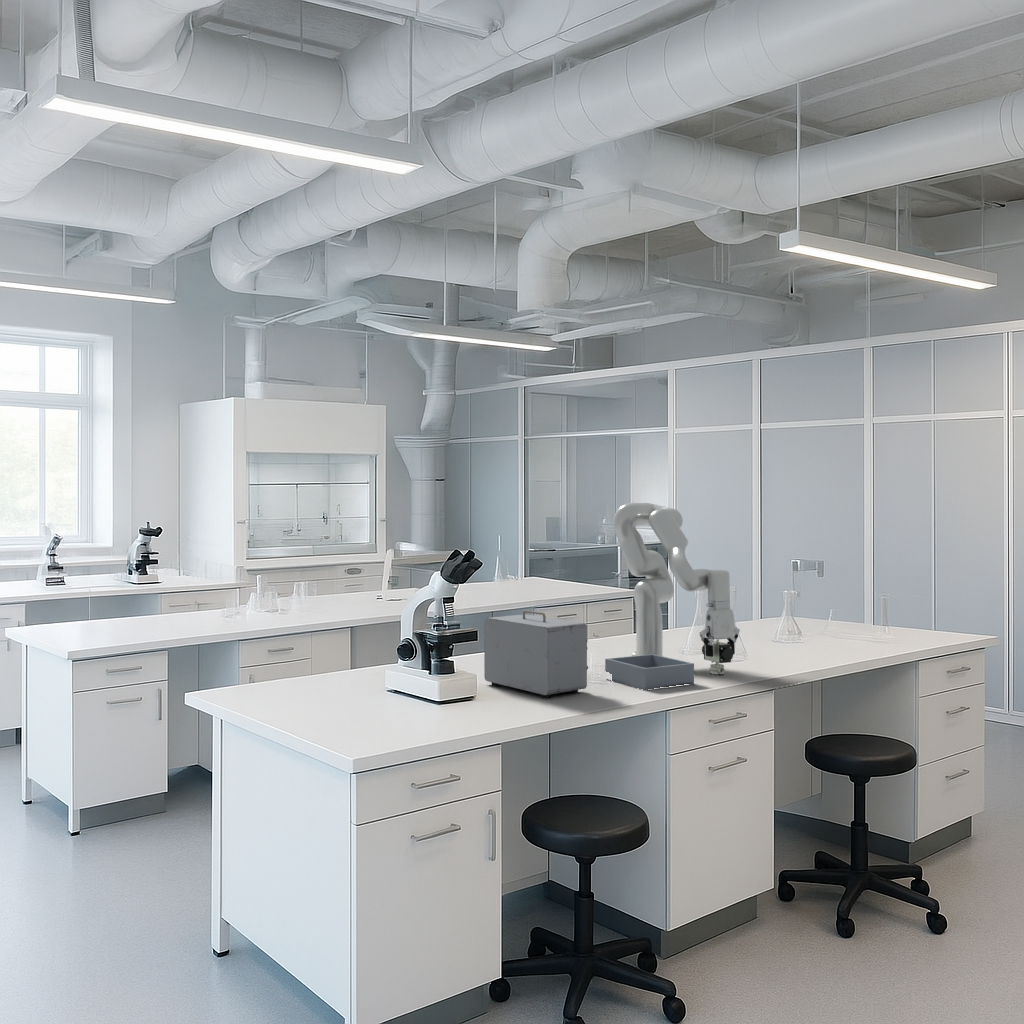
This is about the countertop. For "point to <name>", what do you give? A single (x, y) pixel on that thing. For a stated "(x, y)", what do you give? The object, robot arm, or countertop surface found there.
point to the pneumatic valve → (719, 656)
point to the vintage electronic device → (536, 653)
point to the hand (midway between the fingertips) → (720, 655)
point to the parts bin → (649, 671)
